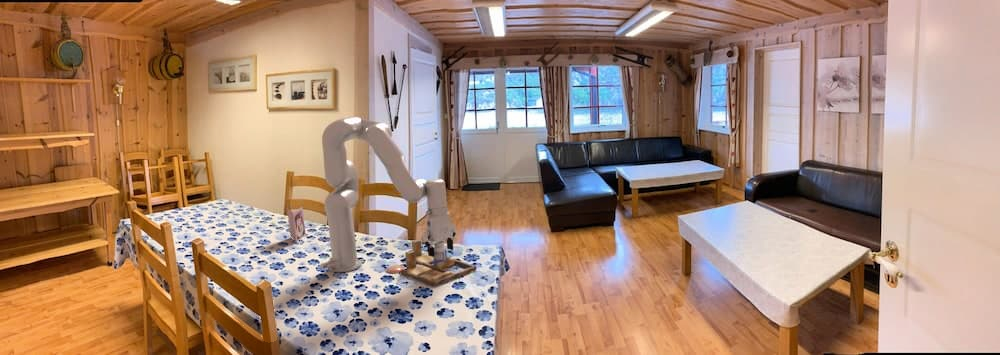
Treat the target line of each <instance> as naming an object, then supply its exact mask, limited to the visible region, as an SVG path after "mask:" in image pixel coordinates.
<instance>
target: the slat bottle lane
mask: <svg viewBox="0 0 1000 355" xmlns="http://www.w3.org/2000/svg"><path fill="white" fill-rule="evenodd" d="M411 248H412V249H411V250H412V251H415V255H416V263H418V264H420V265H422V262H425V263H428V264H430V265H433V266H434V261H433V257H431V256H429V255H428V252H426V253H423V251H422V250H423V249H422V240H421V239H414V240H412V241H411ZM436 265H437V266H436V267H439V268H441V269H444V270H445V269H446V268H449V267H451V266H455V265H456V264H455V258H453V257H450V259H448V260H445V261H442V262H439V263H437V264H436Z"/></svg>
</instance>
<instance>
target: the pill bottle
mask: <svg viewBox="0 0 1000 355" xmlns="http://www.w3.org/2000/svg"><path fill="white" fill-rule="evenodd" d="M433 247H434V255H435V256H434V257H433V261H434V263H433V265H434V266H437V265H436V264H437V263H439V262H442V261H445V260H447V257H448V255H447V246H445V241H444V240H441V241H438V242H434V244H433Z"/></svg>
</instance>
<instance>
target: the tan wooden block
mask: <svg viewBox="0 0 1000 355" xmlns="http://www.w3.org/2000/svg"><path fill="white" fill-rule="evenodd" d="M404 253H405V267H406V268H405V269H406V271H408V272H411V273H413V274H416V275H418V276H422V275H425V274H427V273H430V272H433V269H431V268H429V267H426V266H423V265H422V264H419V265H417V262H416V255H415V251H412V249H411V250H408V251H406V252H404Z"/></svg>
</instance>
